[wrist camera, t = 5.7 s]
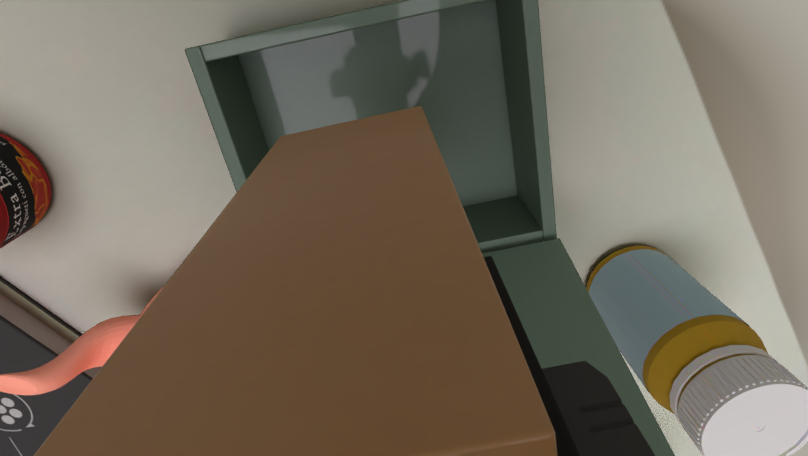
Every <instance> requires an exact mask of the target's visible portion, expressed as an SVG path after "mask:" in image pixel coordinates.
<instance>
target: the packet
mask: <svg viewBox="0 0 808 456" xmlns="http://www.w3.org/2000/svg"><path fill="white" fill-rule="evenodd" d="M34 456H557V446H556V436H555V431H554V428H553V426H552V423H551V421H550V419H549V416H548V414H547V411H546V409H545V406H544V404H543V401H542V399H541V397H540V394H539V392H538V389H537V387H536V384H535V382H534V379H533V377H532V375H531V372H530V370H529V367H528V365H527V362H526V360H525V357H524V355H523V353H522V350H521V348H520V345H519V343H518V340H517V338H516V335H515V333H514V331H513V328H512V326H511V323H510V321H509V318H508V316H507V314H506V311H505V309H504V306H503V304H502V301H501V299H500V296H499V294H498V292H497V289H496V287H495V284H494V282H493V279H492V277H491V274H490V272H489V270H488V267H487V265H486V262H485V260H484V257H483V255H482V252H481V250H480V248H479V245H478V243H477V240H476V238H475V235H474V233H473V230H472V228H471V226H470V223H469V221H468V218H467V216H466V213H465V211H464V208H463V206H462V204H461V201H460V199H459V196H458V194H457V191H456V189H455V186H454V184H453V182H452V179H451V177H450V174H449V172H448V169H447V167H446V164H445V162H444V160H443V157H442V155H441V152H440V150H439V147H438V145H437V143H436V140H435V138H434V135H433V133H432V130H431V128H430V125H429V123H428V121H427V118H426V116H425V113H424V111H423V108H422V106H417V107H413V108H408V109H403V110H399V111H394V112H390V113H385V114H380V115H376V116H371V117H367V118H362V119H357V120H353V121H348V122H344V123H339V124H334V125H330V126H325V127H321V128H316V129H311V130H307V131H302V132H298V133H293V134H288V135H284V136H280V137H279V139H278V140H277V141H276V143H275V144H274V145H273V147H272V148H271V149H270V150H269V152H268V153H267V154H266V156H265V157H264V158H263V159H262V161H261V162H260V163H259V165H258V166H257V167H256V168H255V170H254V171H253V172H252V174H251V175H250V176H249V178H248V179H247V180H246V181H245V183H244V184H243V185H242V187H241V188H240V189H239V190H238V192H237V193H236V194H235V196H234V197H233V198H232V200H231V201H230V202H229V203H228V205H227V206H226V207H225V209H224V210H223V211H222V212H221V214H220V215H219V216H218V218H217V219H216V220H215V222H214V223H213V224H212V225H211V227H210V228H209V229H208V231H207V232H206V233H205V234H204V236H203V237H202V238H201V240H200V241H199V242H198V243H197V245H196V246H195V247H194V249H193V250H192V251H191V253H190V254H189V255H188V256H187V258H186V259H185V260H184V262H183V263H182V264H181V265H180V267H179V268H178V269H177V271H176V272H175V273H174V275H173V276H172V277H171V278H170V280H169V281H168V282H167V284H166V285H165V286H164V287H163V289H162V290H161V291H160V293H159V294H158V295H157V296H156V298H155V299H154V300H153V302H152V303H151V304H150V306H149V307H148V308H147V309H146V311H145V312H144V313H143V315H142V316H141V317H140V318H139V320H138V321H137V322H136V324H135V325H134V326H133V328H132V329H131V330H130V331H129V333H128V334H127V335H126V337H125V338H124V339H123V340H122V342H121V343H120V344H119V346H118V347H117V348H116V350H115V351H114V352H113V353H112V355H111V356H110V357H109V359H108V360H107V361H106V362H105V364H104V365H103V366H102V368H101V369H100V370H99V371H98V373H97V374H96V375H95V377H94V378H93V379H92V381H91V382H90V383H89V384H88V386H87V387H86V388H85V390H84V391H83V392H82V393H81V395H80V396H79V397H78V399H77V400H76V401H75V403H74V404H73V405H72V406H71V408H70V409H69V410H68V412H67V413H66V414H65V415H64V417H63V418H62V419H61V421H60V422H59V423H58V425H57V426H56V427H55V428H54V430H53V431H52V432H51V434H50V435H49V436H48V437H47V439H46V440H45V441H44V443H43V444H42V445H41V446H40V448H39V449H38V450H37V452H36V453H35V454H34Z"/></svg>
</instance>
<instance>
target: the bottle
mask: <svg viewBox="0 0 808 456" xmlns="http://www.w3.org/2000/svg"><path fill="white" fill-rule="evenodd" d="M586 289H587V291H588V293H589V295H590V297H591V299H592V300H593V302H594V304H595V306H596V308H597V310H598V312H599V314H600V316H601V317H602V319H603V321H604V323H605V325H606V327H607V329H608V331H609V333H610V334H611V336H612V338H613V340H614V342H615V344H616V346H617V348H618V349H619V350H620V352H621V353H622V355H623V356H624V358H625V359H626V360H627V362H628V363H629V365H630V366H631V368H632V369H633V370H634V372H635V373H636V375H637V376H638V378H639V379H640V380H641V382H642V383H643V385H644V386H645V388H646V389H647V390H648V392H649V393H650V394H651V395H652V397H653V398H654V399H655V400H656V401H657V402H658V403H659V404H660V405H661V406H663V407H664V408H666V409H667V410H669V411H670V412H672V413H673V414H675V416H676V418H677V419H678V420H679V422H680V423H681V425H682V427H683V428H684V430H685V431H686V432H687V434H688V435H689V436H690V438H691V439H692V441H693V442H694V443H695V445H696V446H697V447H698V449H699V450H700V452H701V453H702V454H703V456H791V455H793V454H794V453H795V452H797V451H798V450H799V449H801V448H802V447H803V446H804V445H805V444H806V442H808V388H807V387H806V386H805V385H804V384H803V383H802V382H800V381H799V380H798V379H797V378H796V377H795V376H794V375H793V374H791V373H790V372H789V371H788V370H787V369H786V368H785V367H784V366H782V365H781V364H779V363H778V362H777V361H776V360H775V359H773V358H772V357H771V356H770V355H769V354H768V353H767V350H766V348H765V346H764V344H763V342H762V340H761V339H760V337H759V336H758V335H757V333H756V332H755V331H754V330H753V329H751V328H750V326H749V325H748V324H746V323H745V322H744V321H743V320H742V319H741V318H739V317H738V316H737V315H736V314H735V313H734V312H732V311H731V310H730V309H729V308H728V307H727V306H726V305H724V304H723V303H722V302H721V301H720V300H719V299H717V298H716V297H715V296H714V295H713V294H712V293H710V292H709V291H708V290H707V289H706V288H705V287H703V286H702V285H701V284H700V283H699V282H698V281H696V280H695V279H694V278H693V277H692V276H691V275H689V274H688V273H687V272H686V271H685V270H684V269H682V268H681V267H680V266H679V265H678V264H677V263H675V262H674V261H673V260H672V259H671V258H670V257H668V256H667V255H665V254H664V253H663V252H661V251H659V250H657V249H656V248H653V247H647V246H632V247H626V248H623V249H621V250H618V251H616V252H613V253H612V254H610V255H609V256H607V257H606V258H605V259H603V260H602V261H601V262H600V263H599V264H598V265H597V266H596V268H595V269H594V270H593V271H592V273H591V275H590V277H589V280H588V282H587V286H586Z"/></svg>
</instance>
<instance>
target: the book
mask: <svg viewBox="0 0 808 456" xmlns="http://www.w3.org/2000/svg"><path fill="white" fill-rule="evenodd" d="M80 336H81V334H80V333H78V332H77V331H75V330H74V329H73V328H71V327H70V326H68V325H67V324H66V323H64V322H63V321H61V320H60V319H58V318H57V317H56V316H54V315H53V314H51V313H50V312H49V311H47V310H46V309H44V308H43V307H42V306H40V305H39V304H37V303H36V302H35V301H33V300H32V299H30V298H29V297H27V296H26V295H25V294H23V293H22V292H20V291H19V290H18V289H16V288H15V287H13V286H12V285H11V284H9V283H8V282H6V281H5V280H4V279H2V278H1V277H0V374H9V373H17V372H25V371H29V370H32V369H35V368H38V367H41V366H42V365H44V364H46V363H48V362H50V361H52V360H53V359H54V358H56V357H57V356H58V355H60V354H61V353H62V352H63V351H65V350H66V349H67V348H68V347H69V346H70V345H71V344H72V343H74V342H75V341H76V340H77V339H78V338H79V337H80ZM101 368H102V367H94V368H90V369H87V370H85V371H83V372H82V373H80V374H79V375H77V376H76V377H75V378H73V379H72V380H71V381H69V382H68V383H67V384H65V385H63V386H62V387H60V388H58V389H55V390H53V391H50V392H47V393H43V394H38V395H16V394H9V393H5V392H1V391H0V456H34V454H35V453H36V452H37V450H38V449H39V448H40V446H41V445H42V444H43V443H44V441H45V440H46V439H47V437H48V436H49V435H50V434H51V432H52V431H53V430H54V428H55V427H56V426H57V425H58V423H59V422H60V421H61V419H62V418H63V417H64V415H65V414H66V413H67V412H68V410H69V409H70V408H71V406H72V405H73V404H74V403H75V401H76V400H77V399H78V397H79V396H80V395H81V393H82V392H83V391H84V390H85V388H86V387H87V386H88V384H89V383H90V382H91V381H92V379H93V378H94V377H95V375H96V374H97V373H98V371H99V370H100V369H101Z"/></svg>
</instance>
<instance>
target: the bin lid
mask: <svg viewBox="0 0 808 456" xmlns="http://www.w3.org/2000/svg"><path fill="white" fill-rule="evenodd" d="M482 255H483V257H487V256H492V258H493V260H494V262H495V265H496V267H497V269H498V271H499V274H500V276H501V278H502V280H503V283H504V285H505V287H506V289H507V292H508V294H509V296H510V298H511V301H512V303H513V305H514V308H515V310H516V312H517V314H518V317H519V319H520V321H521V323H522V326H523V328H524V330H525V332H526V335H527V337H528V339H529V341H530V344H531V346H532V348H533V350H534V353H535V355H536V357H537V359H538V362H539V364H540V366H541V369H543V368H549V367H554V366H559V365H564V364H570V363H575V362H580V361H587V362H588V363H589V364H590V365H592V366H593V367H594V368H596V369H597V370H598V371H600V372H601V373H602V374H604V375H605V376H606V377H608V379H609V380H610V382H611V384H612V385H613V387H614V389H615V390H616V392H617V394H618V395H619V397H620V398H621V401H622V404H623V405H625V407H626V408H627V410H628V412H629V413H630V415H631V416H632V418H633V421H634V424H636V425H637V426H638V428H639V430H640V431H641V433H642V435H643V436H644V438H645V439H646V441H647V443H648V444H649V446H650V448H651V449H652V451H653V453H654V454H655V456H675V455H674V453H673V451H672V449H671V448H670V446H669V444H668V442H667V440H666V438H665V436H664V434H663V432H662V431H661V429H660V427H659V425H658V423H657V421H656V419H655V417H654V415H653V414H652V412H651V410H650V408H649V406H648V404H647V402H646V400H645V399H644V397H643V395H642V393H641V391H640V389H639V387H638V385H637V383H636V382H635V380H634V378H633V376H632V374H631V372H630V370H629V368H628V366H627V365H626V363H625V361H624V359H623V357H622V355H621V353H620V351H619V349H618V348H617V346H616V344H615V342H614V340H613V338H612V336H611V334H610V333H609V331H608V329H607V327H606V325H605V323H604V321H603V319H602V317H601V316H600V314H599V312H598V310H597V308H596V306H595V304H594V302H593V300H592V299H591V297H590V295H589V293H588V291H587V289H586V287H585V285H584V283H583V282H582V280H581V278H580V276H579V274H578V272H577V270H576V268H575V267H574V265H573V263H572V261H571V259H570V257H569V255H568V253H567V251H566V250H565V248H564V246H563V244H562V242H561V240H560V239H554V240H549V241H543V242H538V243H533V244H528V245H523V246H518V247H513V248H508V249H503V250H498V251H493V252H488V253H483V254H482Z"/></svg>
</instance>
